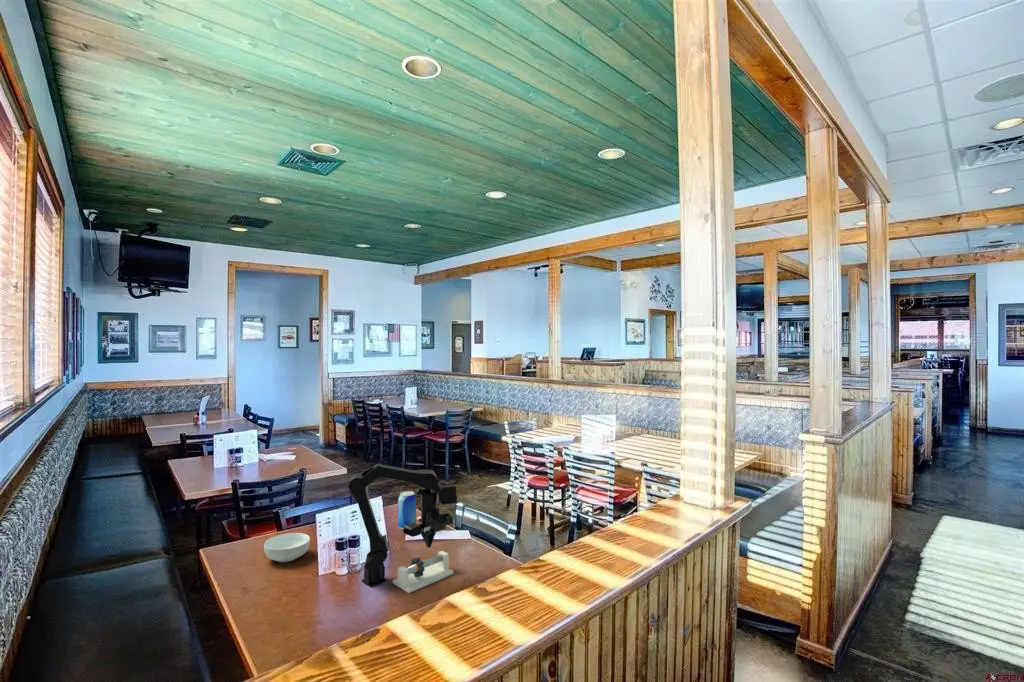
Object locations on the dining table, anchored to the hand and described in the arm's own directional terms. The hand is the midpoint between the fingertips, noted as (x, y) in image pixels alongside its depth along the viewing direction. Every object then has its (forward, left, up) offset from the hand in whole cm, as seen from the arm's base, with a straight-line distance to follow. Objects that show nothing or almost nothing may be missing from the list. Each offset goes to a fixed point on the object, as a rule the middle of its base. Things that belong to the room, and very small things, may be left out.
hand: (428, 547), depth 183 cm
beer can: (+22, +46, -11) cm, 52 cm away
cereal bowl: (-30, +53, -11) cm, 62 cm away
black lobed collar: (-5, 0, -9) cm, 10 cm away
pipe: (-2, 0, -7) cm, 7 cm away
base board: (-2, 0, -11) cm, 11 cm away
